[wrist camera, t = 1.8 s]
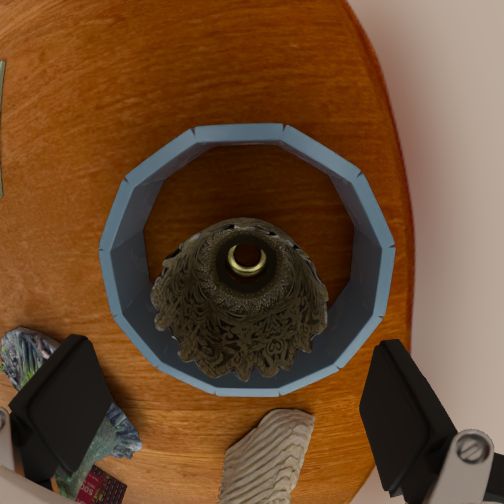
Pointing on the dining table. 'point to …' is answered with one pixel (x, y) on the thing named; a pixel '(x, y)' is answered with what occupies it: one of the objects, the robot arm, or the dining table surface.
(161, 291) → the cup
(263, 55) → the dining table surface
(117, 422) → the tree stump
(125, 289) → the ring
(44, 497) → the robot arm
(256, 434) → the fossil tooth
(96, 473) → the box
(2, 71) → the mat
